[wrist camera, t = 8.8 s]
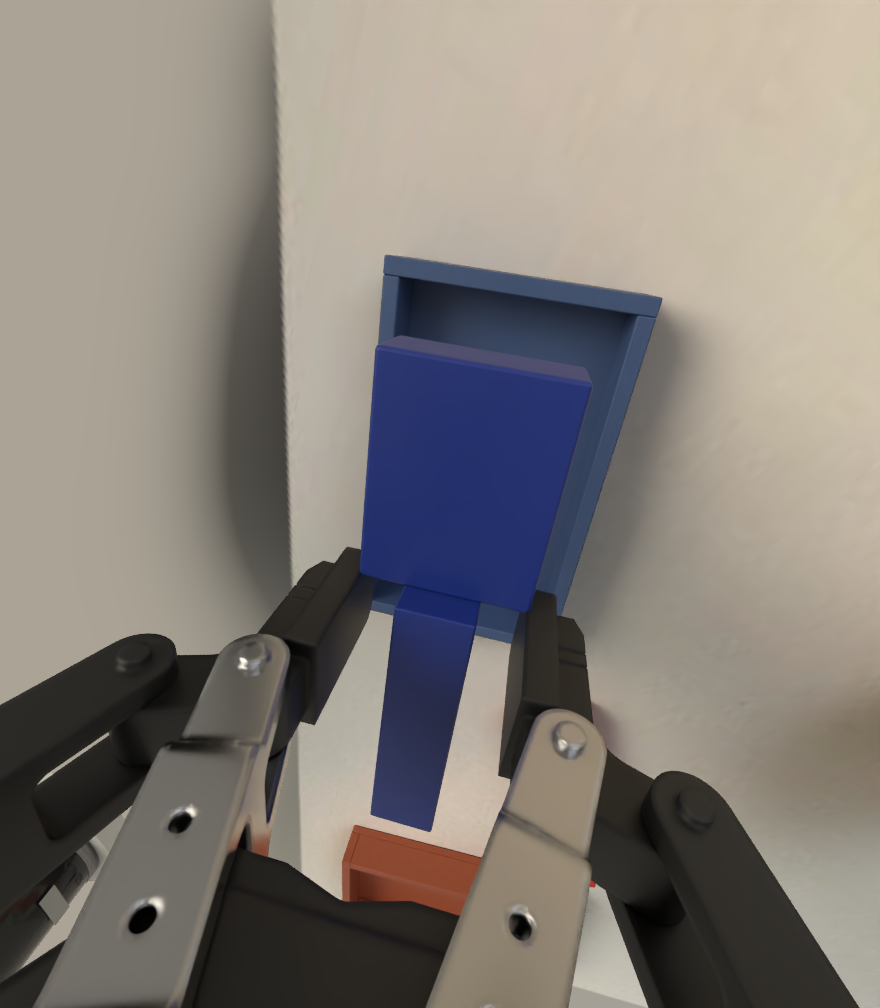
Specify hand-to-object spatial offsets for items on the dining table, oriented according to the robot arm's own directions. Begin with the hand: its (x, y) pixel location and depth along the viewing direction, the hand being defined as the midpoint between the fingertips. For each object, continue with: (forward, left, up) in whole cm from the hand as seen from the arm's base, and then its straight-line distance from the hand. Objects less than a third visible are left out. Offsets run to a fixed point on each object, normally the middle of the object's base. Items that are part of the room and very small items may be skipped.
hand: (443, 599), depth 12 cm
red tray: (-9, -33, -10) cm, 36 cm away
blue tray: (0, 0, -10) cm, 10 cm away
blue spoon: (0, -1, 0) cm, 1 cm away
